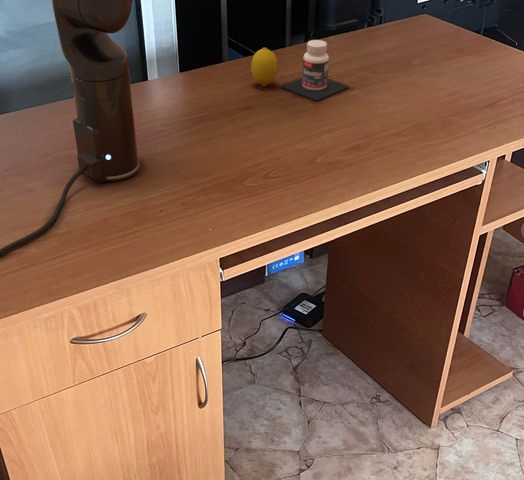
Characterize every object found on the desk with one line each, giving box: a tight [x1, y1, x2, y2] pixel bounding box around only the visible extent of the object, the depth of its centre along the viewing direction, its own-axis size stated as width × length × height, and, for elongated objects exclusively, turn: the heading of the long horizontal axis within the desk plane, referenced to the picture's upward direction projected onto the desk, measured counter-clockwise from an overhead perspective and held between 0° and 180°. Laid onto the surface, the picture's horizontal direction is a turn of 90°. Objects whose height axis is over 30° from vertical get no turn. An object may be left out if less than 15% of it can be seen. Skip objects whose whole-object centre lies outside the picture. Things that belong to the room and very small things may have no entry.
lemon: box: [250, 47, 279, 87], centre depth 162 cm, size 6×6×8 cm
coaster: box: [280, 77, 350, 103], centre depth 164 cm, size 10×10×1 cm
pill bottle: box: [301, 39, 330, 91], centre depth 161 cm, size 5×5×9 cm
